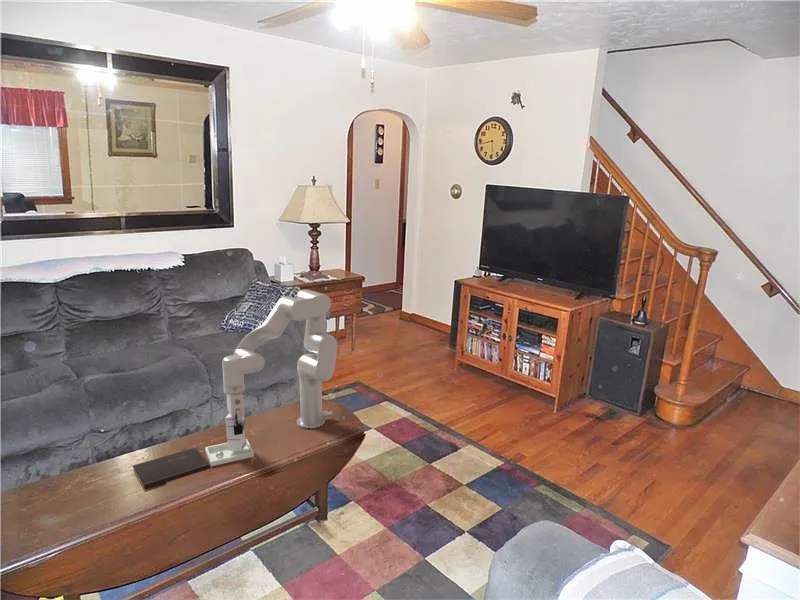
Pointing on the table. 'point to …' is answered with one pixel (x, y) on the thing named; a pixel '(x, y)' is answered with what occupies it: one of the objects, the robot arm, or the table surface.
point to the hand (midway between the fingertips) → (236, 429)
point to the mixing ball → (219, 455)
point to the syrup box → (235, 440)
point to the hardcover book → (170, 467)
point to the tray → (228, 453)
